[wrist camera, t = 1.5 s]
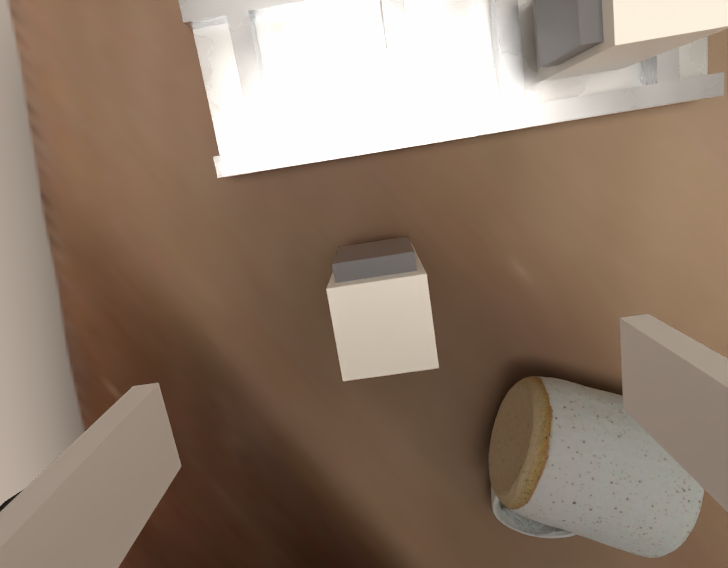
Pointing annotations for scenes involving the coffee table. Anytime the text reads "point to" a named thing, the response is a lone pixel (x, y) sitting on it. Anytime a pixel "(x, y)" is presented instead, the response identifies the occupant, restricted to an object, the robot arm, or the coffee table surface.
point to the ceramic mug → (586, 471)
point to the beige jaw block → (381, 310)
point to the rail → (399, 77)
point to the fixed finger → (616, 32)
